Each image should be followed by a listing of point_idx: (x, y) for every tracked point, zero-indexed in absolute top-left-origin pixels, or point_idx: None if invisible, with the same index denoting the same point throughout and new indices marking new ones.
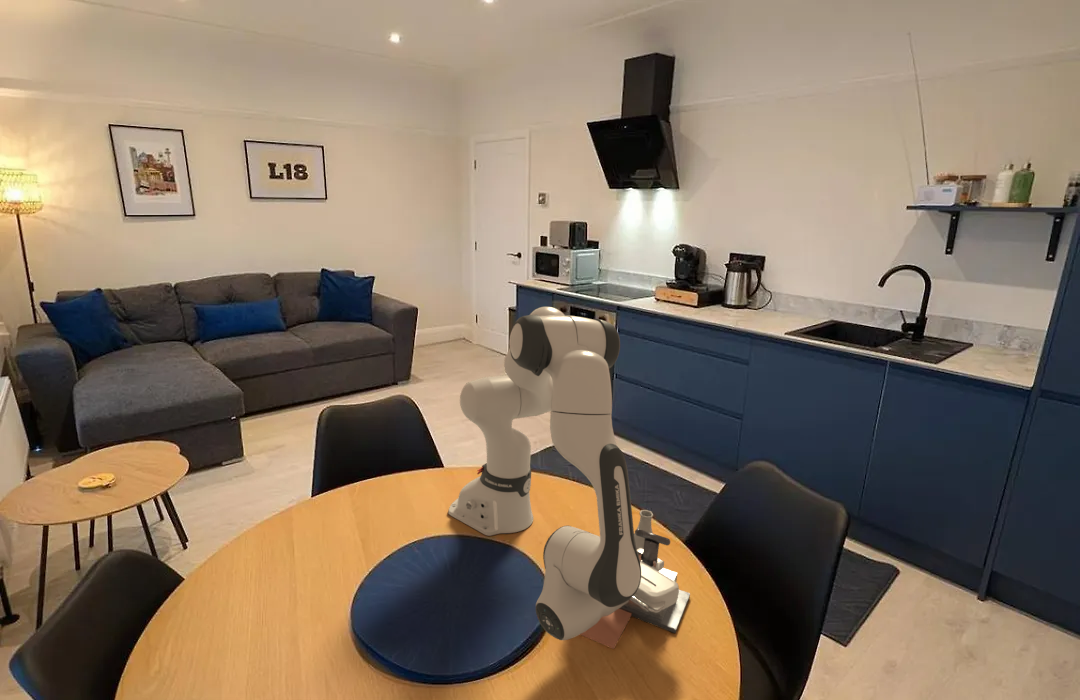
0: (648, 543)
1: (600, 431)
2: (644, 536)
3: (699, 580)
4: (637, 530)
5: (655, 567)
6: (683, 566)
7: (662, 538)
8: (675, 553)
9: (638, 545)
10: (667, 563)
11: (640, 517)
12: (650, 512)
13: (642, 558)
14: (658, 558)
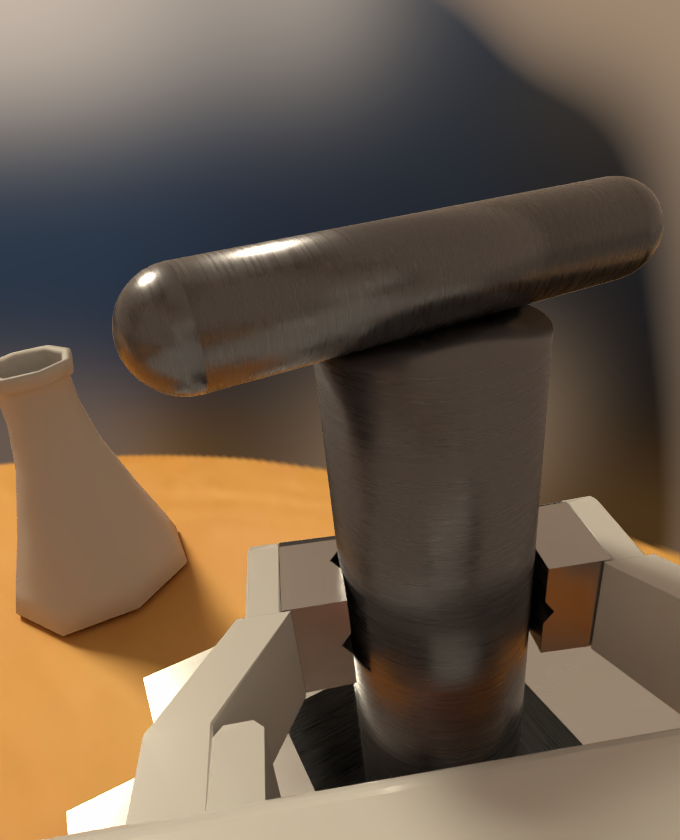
0: (486, 374)
1: None
2: (348, 312)
3: None
4: (167, 280)
5: (583, 623)
6: (323, 502)
7: (583, 194)
8: (241, 482)
9: (82, 562)
10: (261, 538)
11: (1, 406)
12: (44, 350)
13: (387, 650)
14: None
